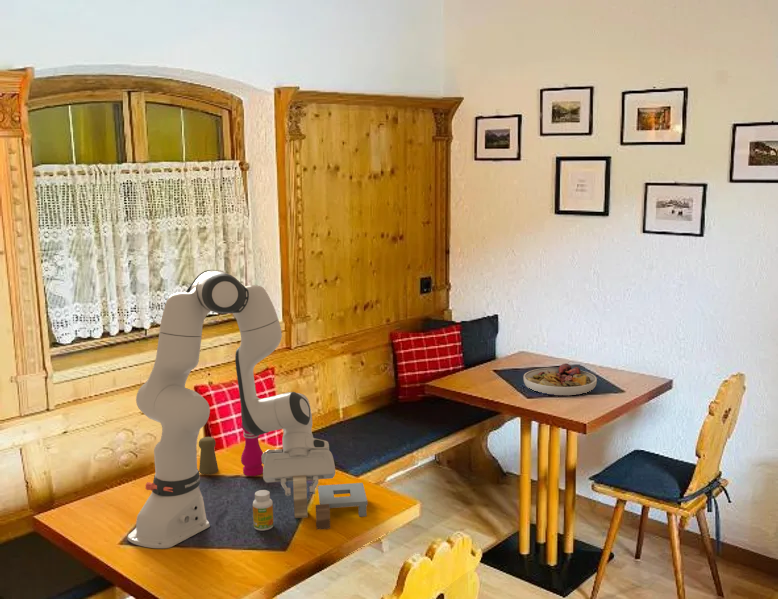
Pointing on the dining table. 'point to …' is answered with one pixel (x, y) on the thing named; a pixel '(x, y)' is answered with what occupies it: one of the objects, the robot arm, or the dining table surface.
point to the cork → (207, 456)
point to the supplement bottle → (262, 511)
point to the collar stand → (354, 499)
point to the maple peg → (300, 496)
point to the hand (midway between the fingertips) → (300, 494)
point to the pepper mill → (251, 455)
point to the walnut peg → (323, 516)
